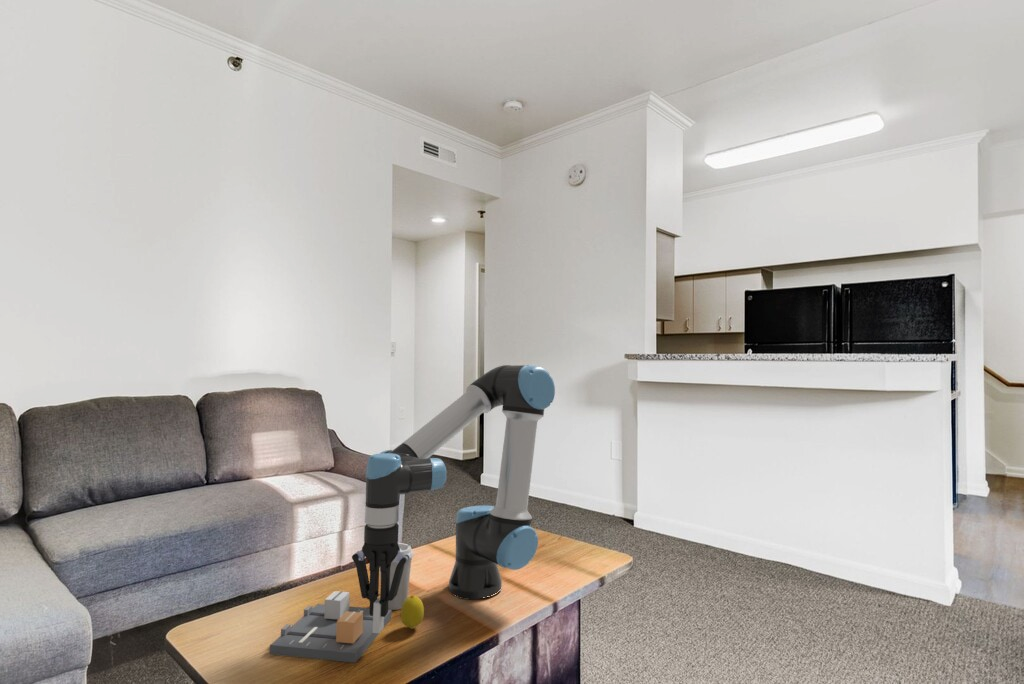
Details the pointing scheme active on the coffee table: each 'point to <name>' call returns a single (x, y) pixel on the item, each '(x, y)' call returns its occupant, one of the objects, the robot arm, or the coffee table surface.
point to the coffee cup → (404, 582)
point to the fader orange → (349, 627)
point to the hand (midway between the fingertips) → (378, 630)
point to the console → (323, 637)
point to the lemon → (412, 612)
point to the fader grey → (336, 605)
